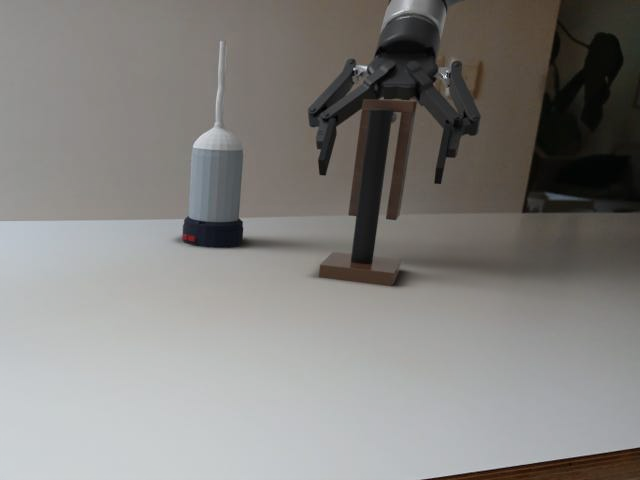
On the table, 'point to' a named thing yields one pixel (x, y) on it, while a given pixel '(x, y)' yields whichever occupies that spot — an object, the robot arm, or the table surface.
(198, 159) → the humidifier
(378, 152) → the post on base
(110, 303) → the table surface
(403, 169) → the wooden arch frame
